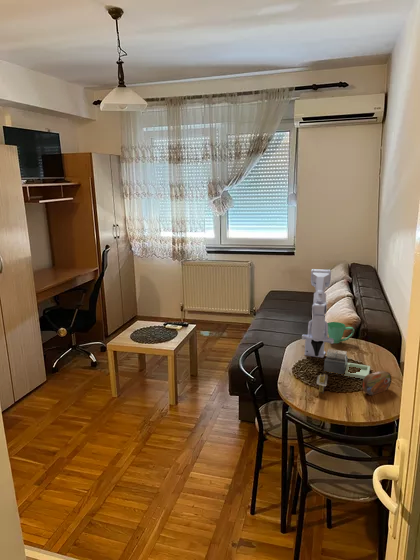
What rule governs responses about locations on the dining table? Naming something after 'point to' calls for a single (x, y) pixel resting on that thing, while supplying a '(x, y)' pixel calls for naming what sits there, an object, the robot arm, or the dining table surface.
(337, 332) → the mug
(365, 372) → the tray
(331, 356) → the chip
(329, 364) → the slot block
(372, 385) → the tin
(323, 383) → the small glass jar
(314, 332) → the robot arm
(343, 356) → the chip
